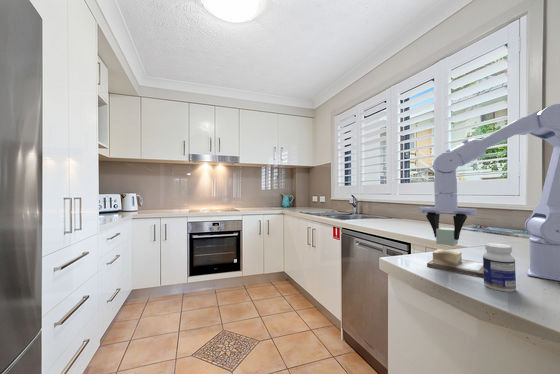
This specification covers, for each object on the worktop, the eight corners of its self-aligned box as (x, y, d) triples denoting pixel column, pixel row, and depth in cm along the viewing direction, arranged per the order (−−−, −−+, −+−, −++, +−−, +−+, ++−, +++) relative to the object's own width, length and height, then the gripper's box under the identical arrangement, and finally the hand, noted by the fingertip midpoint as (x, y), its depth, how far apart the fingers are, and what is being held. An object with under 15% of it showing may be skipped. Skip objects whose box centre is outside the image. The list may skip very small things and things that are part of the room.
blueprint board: (494, 267, 73) (493, 253, 73) (487, 278, 64) (486, 262, 64) (439, 258, 83) (438, 246, 83) (427, 266, 75) (426, 252, 75)
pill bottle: (483, 281, 62) (482, 241, 62) (515, 286, 59) (513, 244, 59) (483, 288, 58) (482, 245, 58) (517, 294, 54) (516, 248, 54)
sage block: (457, 243, 75) (457, 228, 75) (453, 246, 72) (453, 230, 72) (440, 241, 79) (440, 227, 79) (436, 243, 76) (436, 229, 76)
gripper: (478, 193, 73) (479, 239, 73) (423, 193, 84) (424, 233, 83) (473, 193, 68) (474, 243, 68) (416, 193, 79) (417, 236, 79)
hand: (446, 238), depth 75 cm, fingers closed on sage block, 4 cm apart
